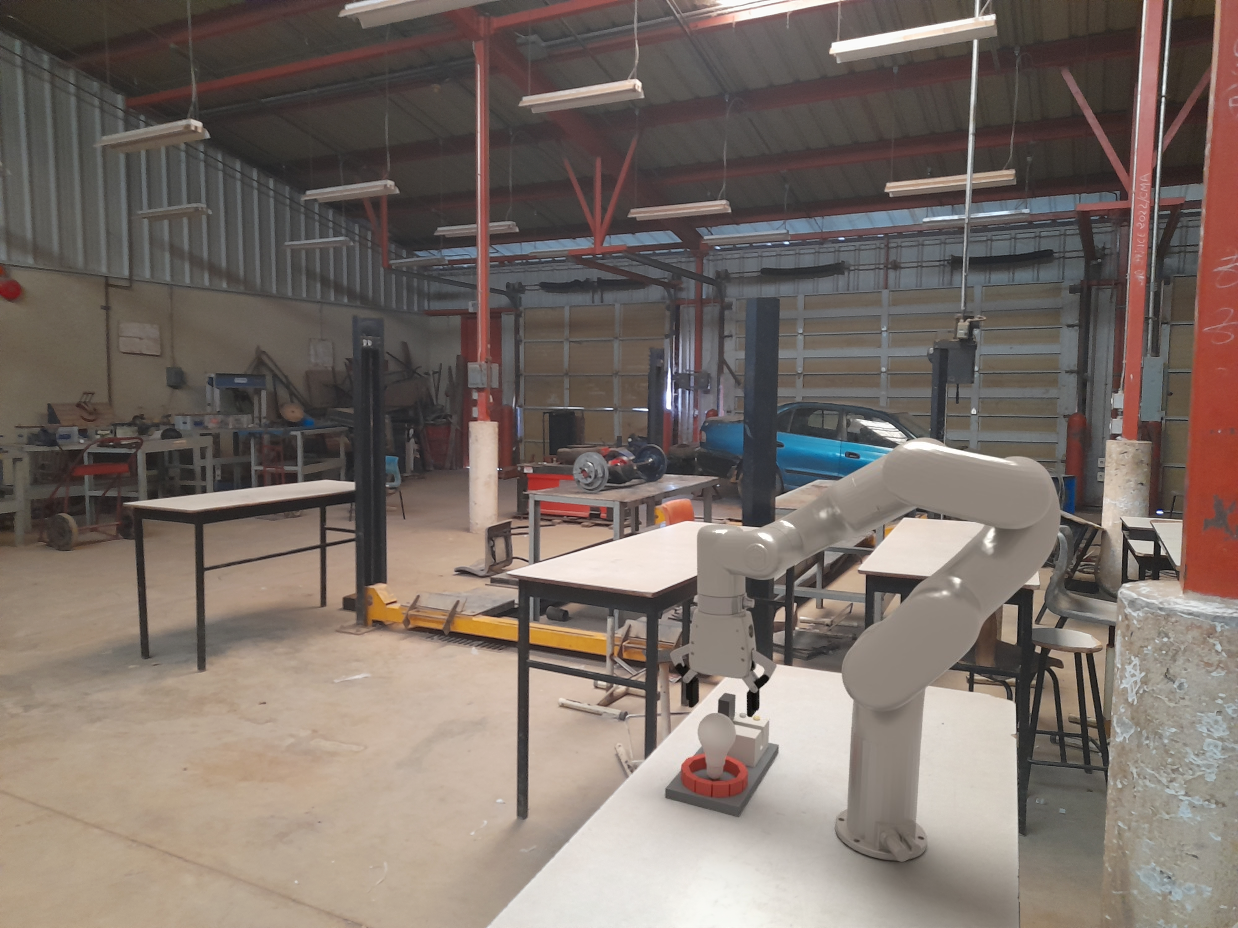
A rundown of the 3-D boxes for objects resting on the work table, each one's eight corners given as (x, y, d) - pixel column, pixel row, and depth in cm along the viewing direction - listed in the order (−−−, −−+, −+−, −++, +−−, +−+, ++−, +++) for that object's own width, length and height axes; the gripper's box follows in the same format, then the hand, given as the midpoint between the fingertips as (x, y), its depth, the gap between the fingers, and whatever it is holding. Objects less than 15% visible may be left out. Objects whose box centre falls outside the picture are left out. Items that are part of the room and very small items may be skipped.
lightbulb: (733, 769, 129) (736, 707, 127) (733, 790, 123) (737, 725, 121) (696, 766, 130) (699, 704, 128) (694, 786, 124) (697, 722, 122)
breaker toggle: (727, 742, 135) (729, 701, 134) (716, 740, 136) (718, 699, 135) (734, 734, 138) (735, 694, 138) (723, 732, 139) (724, 692, 139)
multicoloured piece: (738, 816, 118) (740, 772, 117) (665, 797, 123) (666, 755, 122) (778, 752, 139) (780, 715, 139) (714, 738, 145) (715, 702, 144)
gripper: (781, 603, 123) (781, 709, 124) (678, 593, 130) (680, 693, 131) (769, 614, 116) (769, 726, 117) (661, 603, 123) (662, 709, 125)
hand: (722, 709), depth 124 cm, fingers open, 9 cm apart
